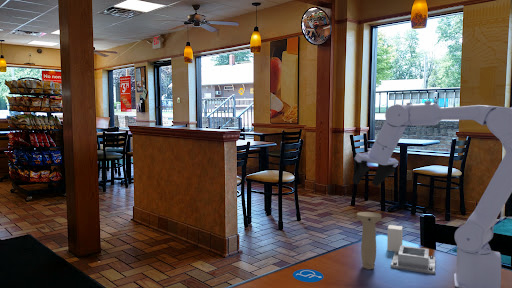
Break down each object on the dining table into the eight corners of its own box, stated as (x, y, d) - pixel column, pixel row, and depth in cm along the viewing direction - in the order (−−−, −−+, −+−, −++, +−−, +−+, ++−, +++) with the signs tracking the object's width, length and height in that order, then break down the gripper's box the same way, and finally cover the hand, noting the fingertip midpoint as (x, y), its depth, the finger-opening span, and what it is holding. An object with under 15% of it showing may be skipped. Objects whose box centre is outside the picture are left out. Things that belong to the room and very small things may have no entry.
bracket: (435, 259, 111) (435, 247, 110) (434, 274, 101) (435, 261, 100) (394, 254, 115) (395, 242, 115) (390, 267, 105) (390, 255, 105)
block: (402, 248, 120) (402, 226, 120) (401, 252, 117) (401, 229, 116) (388, 246, 122) (389, 224, 122) (387, 250, 119) (387, 228, 118)
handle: (381, 272, 102) (382, 217, 101) (356, 270, 104) (357, 215, 103) (380, 265, 107) (380, 212, 106) (356, 263, 109) (356, 211, 107)
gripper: (395, 140, 115) (375, 178, 120) (357, 134, 108) (338, 174, 114) (410, 152, 109) (389, 191, 114) (372, 146, 103) (351, 187, 108)
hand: (364, 183), depth 114 cm, fingers open, 7 cm apart
